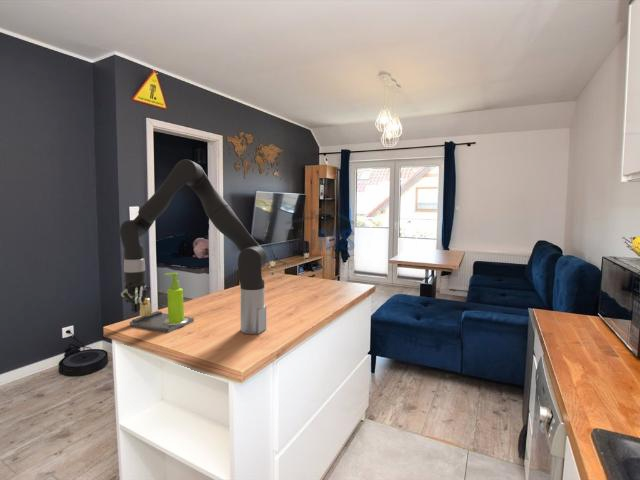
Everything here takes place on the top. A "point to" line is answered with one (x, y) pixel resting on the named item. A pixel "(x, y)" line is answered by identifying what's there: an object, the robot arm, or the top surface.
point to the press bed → (159, 322)
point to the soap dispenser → (175, 300)
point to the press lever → (145, 307)
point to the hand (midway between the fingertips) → (136, 312)
